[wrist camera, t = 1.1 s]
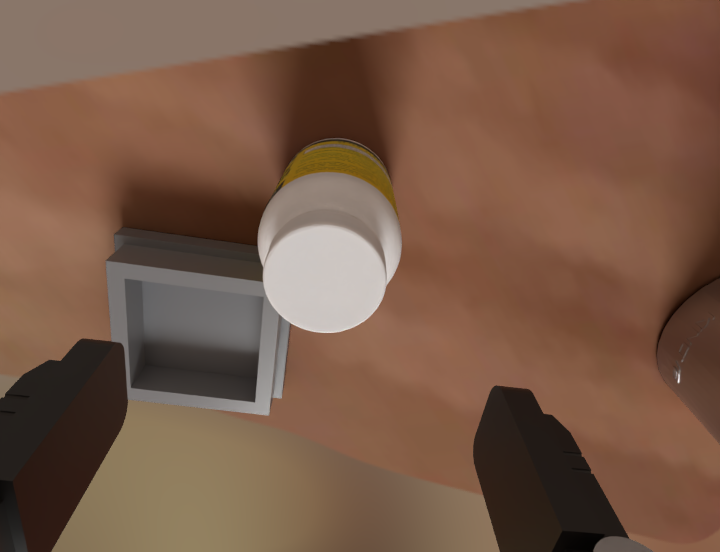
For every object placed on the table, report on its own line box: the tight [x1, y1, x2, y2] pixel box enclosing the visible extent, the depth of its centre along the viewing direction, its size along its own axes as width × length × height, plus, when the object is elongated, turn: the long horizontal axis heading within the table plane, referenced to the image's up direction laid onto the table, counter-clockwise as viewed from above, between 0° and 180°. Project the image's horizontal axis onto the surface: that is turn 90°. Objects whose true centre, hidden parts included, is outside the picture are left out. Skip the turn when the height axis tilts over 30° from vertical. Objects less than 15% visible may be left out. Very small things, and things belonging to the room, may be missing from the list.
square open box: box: [106, 227, 291, 415], centre depth 26 cm, size 9×9×3 cm
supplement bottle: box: [258, 138, 402, 333], centre depth 20 cm, size 5×5×10 cm
